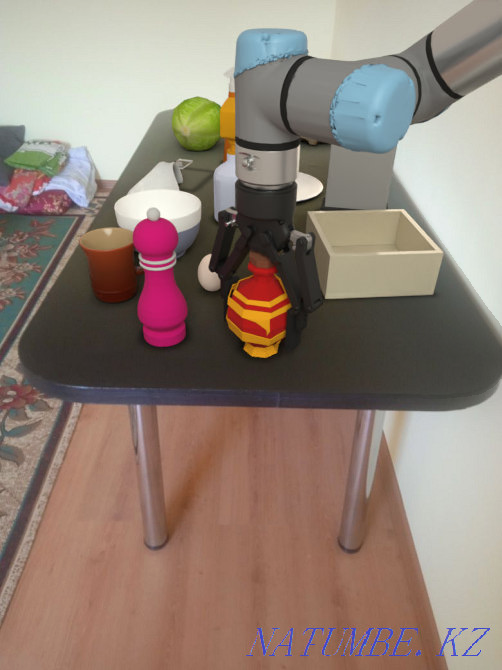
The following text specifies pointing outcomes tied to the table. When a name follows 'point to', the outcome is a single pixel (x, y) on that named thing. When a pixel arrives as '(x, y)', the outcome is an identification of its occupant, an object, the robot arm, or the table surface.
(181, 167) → the binder clip
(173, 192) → the bowl
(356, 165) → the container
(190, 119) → the lettuce
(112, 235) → the mug
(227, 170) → the white cleaner bottle
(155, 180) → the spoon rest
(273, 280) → the potion bottle
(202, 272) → the egg
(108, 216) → the table surface
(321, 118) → the robot arm
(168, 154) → the table surface
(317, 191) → the plate
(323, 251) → the cream open box
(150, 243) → the pepper mill
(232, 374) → the table surface
